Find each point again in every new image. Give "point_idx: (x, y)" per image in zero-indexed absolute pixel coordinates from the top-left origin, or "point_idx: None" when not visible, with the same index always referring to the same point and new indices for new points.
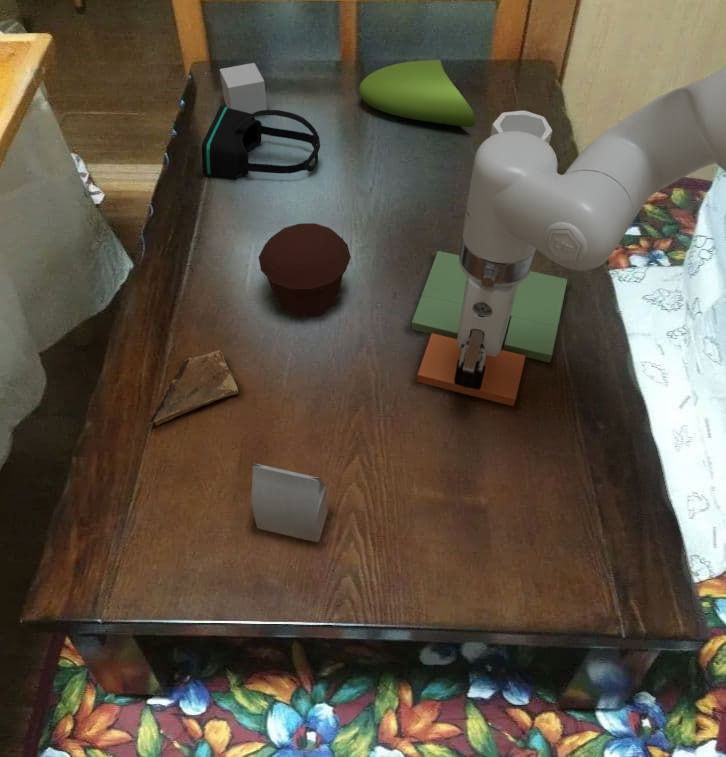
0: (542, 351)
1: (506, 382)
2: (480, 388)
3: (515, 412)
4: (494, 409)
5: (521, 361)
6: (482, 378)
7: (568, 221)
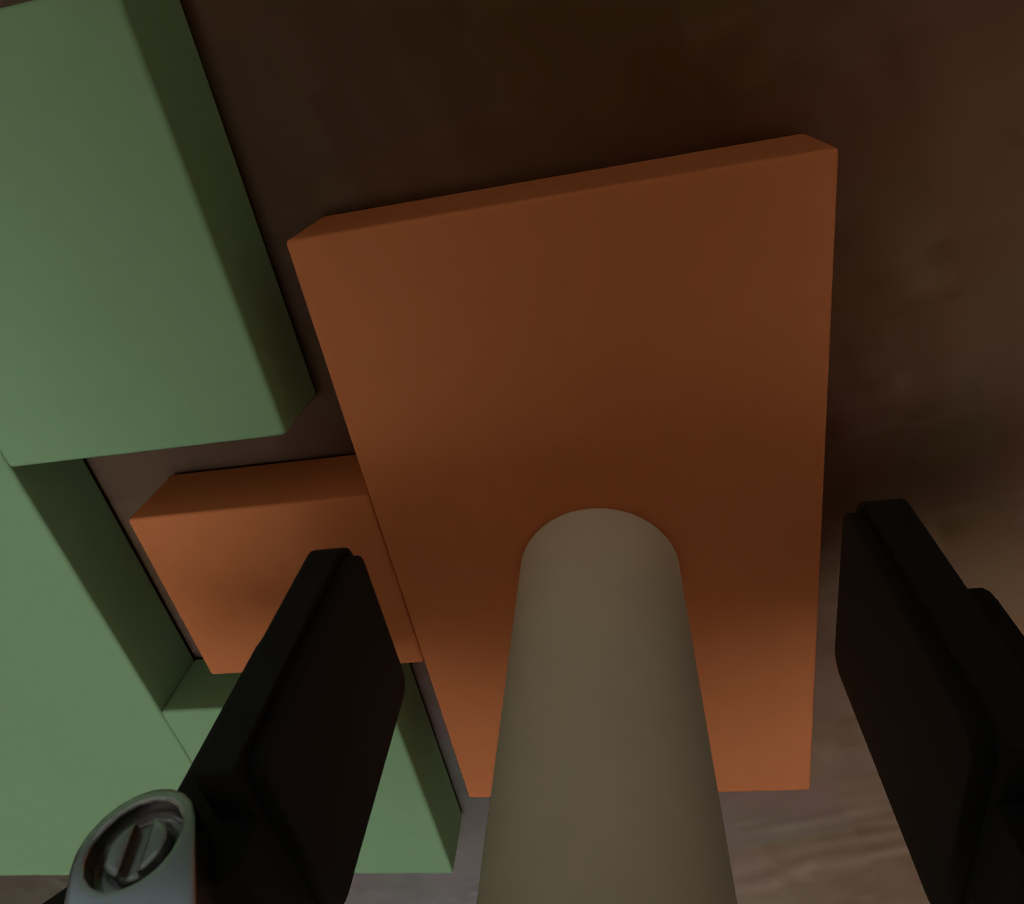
0: (137, 104)
1: (664, 297)
2: (907, 502)
3: (866, 89)
4: (879, 271)
5: (369, 253)
6: (975, 606)
7: None
